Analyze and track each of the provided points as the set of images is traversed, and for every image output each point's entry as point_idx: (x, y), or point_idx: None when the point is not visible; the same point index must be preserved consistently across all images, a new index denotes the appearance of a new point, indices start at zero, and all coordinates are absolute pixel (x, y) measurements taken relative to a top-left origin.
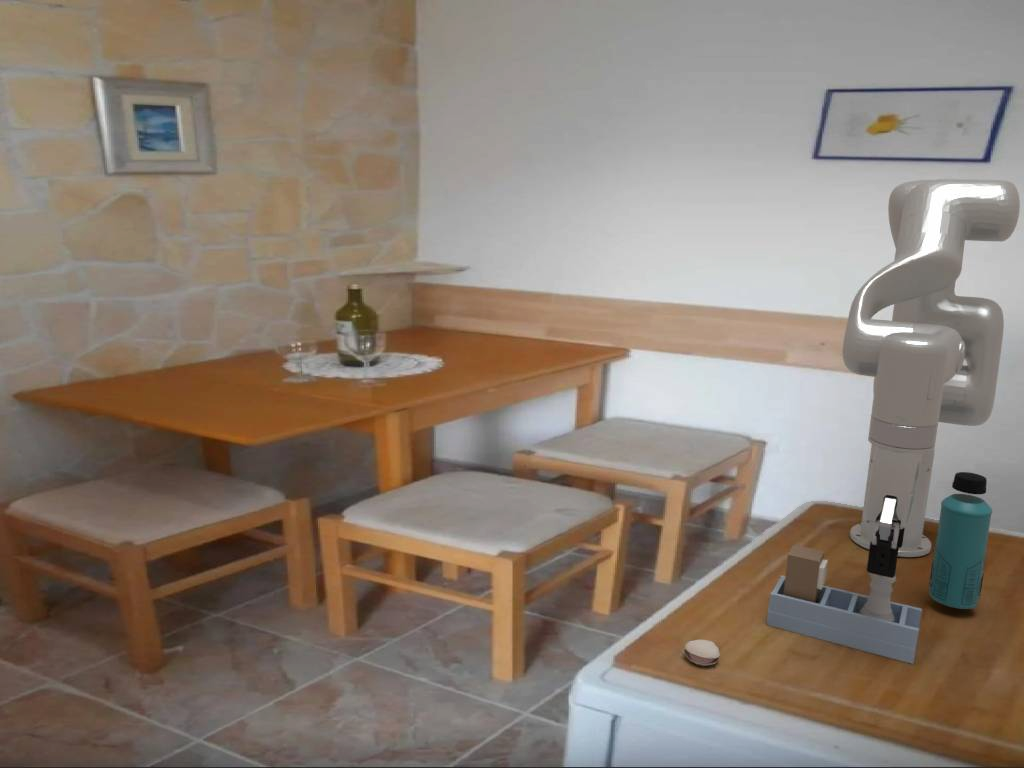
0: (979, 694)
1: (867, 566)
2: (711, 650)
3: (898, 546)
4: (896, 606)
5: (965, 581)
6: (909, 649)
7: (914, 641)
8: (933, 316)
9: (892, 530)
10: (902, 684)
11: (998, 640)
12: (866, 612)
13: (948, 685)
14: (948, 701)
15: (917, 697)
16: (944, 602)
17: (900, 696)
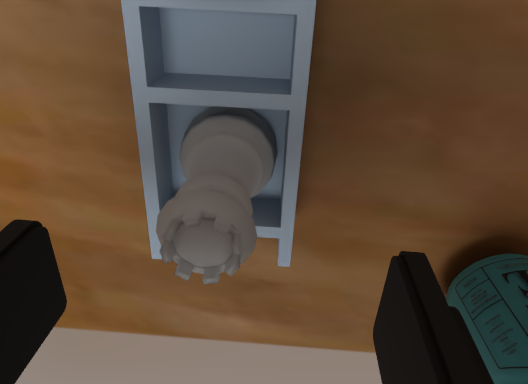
0: (135, 297)
1: (3, 232)
2: None
3: (375, 330)
4: (281, 211)
5: None
6: None
7: None
8: None
9: (396, 374)
10: (73, 191)
11: (363, 333)
12: (195, 138)
13: (131, 259)
14: (74, 257)
15: (46, 215)
16: (456, 281)
17: (24, 188)
